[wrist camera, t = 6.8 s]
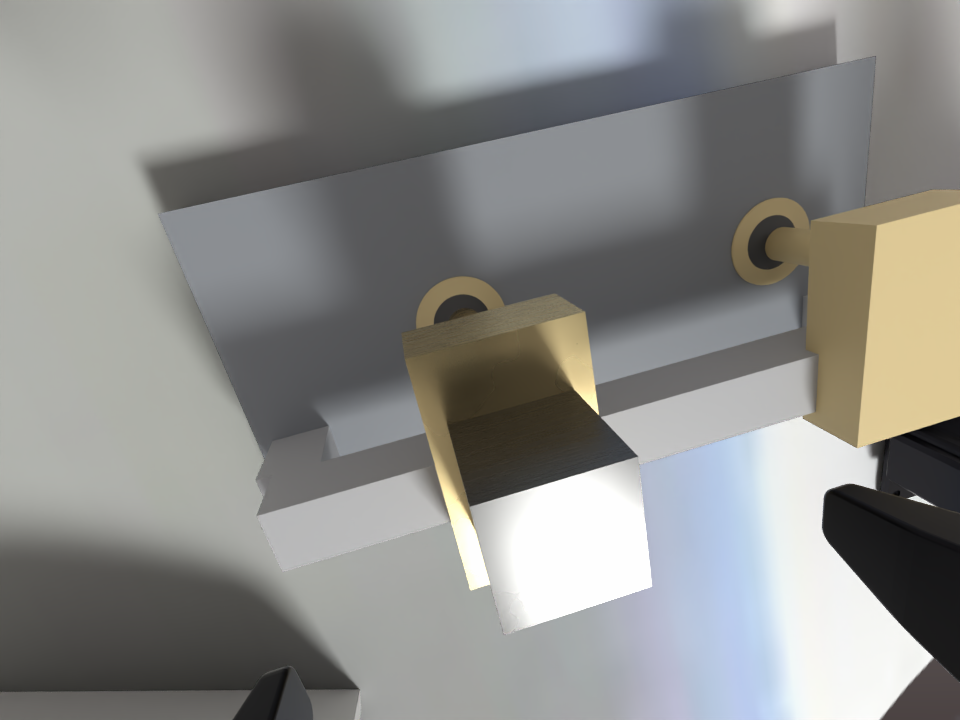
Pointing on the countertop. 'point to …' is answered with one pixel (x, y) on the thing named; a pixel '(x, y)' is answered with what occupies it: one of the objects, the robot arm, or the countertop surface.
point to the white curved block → (160, 705)
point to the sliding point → (529, 459)
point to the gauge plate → (583, 291)
